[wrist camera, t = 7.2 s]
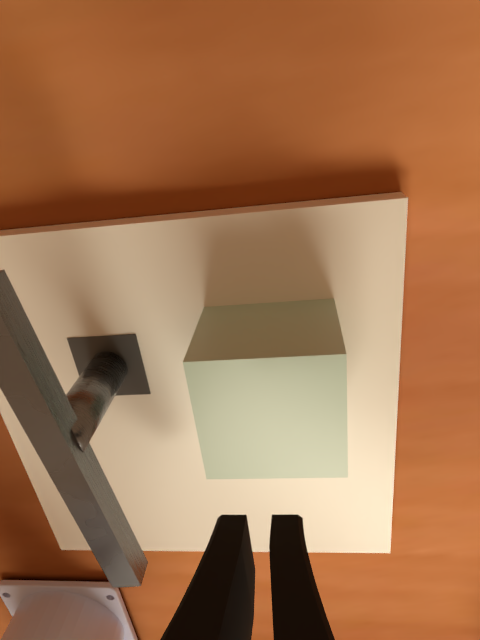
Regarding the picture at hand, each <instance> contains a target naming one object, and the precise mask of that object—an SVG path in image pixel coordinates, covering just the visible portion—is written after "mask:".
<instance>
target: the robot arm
mask: <svg viewBox="0 0 480 640" xmlns="http://www.w3.org/2000/svg"><path fill="white" fill-rule="evenodd" d="M269 550H270V571H271V591H272V611H273V631H274V640H335V639H334V636H333V634H332V631H331V628H330V625H329V622H328V620H327V617H326V614H325V611H324V607H323V604H322V601H321V598H320V595H319V592H318V589H317V586H316V582H315V579H314V576H313V572H312V568H311V564H310V560H309V556H308V552H307V547H306V542H305V536H304V529H303V518H302V517H301V516H299V515H298V514H288V515H272V519H271V530H270V543H269ZM254 593H255V565H254V559H253V553H252V546H251V540H250V534H249V527H248V521H247V515H221V516H219V517H218V518H217V521H216V524H215V527H214V530H213V532H212V535H211V537H210V540H209V543H208V545H207V547H206V550H205V552H204V554H203V557H202V559H201V561H200V563H199V566H198V568H197V570H196V572H195V574H194V576H193V578H192V580H191V582H190V584H189V587H188V589H187V591H186V593H185V595H184V597H183V599H182V601H181V603H180V605H179V607H178V609H177V611H176V612H175V614H174V616H173V618H172V620H171V622H170V623H169V625H168V627H167V629H166V631H165V632H164V634H163V636H162V638H161V640H251V635H252V627H253V618H254ZM0 596H1V598H2V600H3V601H4V603H5V605H6V607H7V608H8V610H9V612H10V614H11V615H12V619H11V621H10V623H9V625H8V627H7V629H6V631H5V633H4V635H3V636H2V638H1V640H138V639H137V636H136V634H135V631H134V628H133V626H132V623H131V620H130V618H129V615H128V612H127V610H126V607H125V604H124V602H123V599H122V597H121V594H120V591H119V589H118V587H116V588H113V587H112V586H111V584H110V582H92V581H40V580H1V581H0Z"/></svg>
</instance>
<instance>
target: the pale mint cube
mask: <svg viewBox="0 0 480 640" xmlns="http://www.w3.org/2000/svg"><path fill="white" fill-rule="evenodd" d="M183 366H184V371H185V376H186V380H187V385H188V390H189V395H190V400H191V405H192V410H193V415H194V420H195V425H196V430H197V435H198V439H199V444H200V449H201V454H202V459H203V464H204V469H205V474H206V479H272V478H348V435H347V354H346V349H345V345H344V340H343V336H342V331H341V327H340V322H339V318H338V314H337V309H336V305H335V300H334V298H333V299H318V300H302V301H287V302H272V303H257V304H242V305H227V306H212V307H204V308H203V311H202V313H201V316H200V318H199V321H198V324H197V326H196V329H195V332H194V334H193V337H192V339H191V342H190V345H189V347H188V350H187V352H186V355H185V358H184V360H183Z"/></svg>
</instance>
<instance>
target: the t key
mask: <svg viewBox="0 0 480 640" xmlns="http://www.w3.org/2000/svg"><path fill="white" fill-rule="evenodd" d="M127 372H128V369H127V365H126V363H125V361H124V360H123V359H122V358H121V357H120V356H119V355H117V354H115V353H112V352H100V353H97V354H96V355H95V356H94V357H93V358H92V359H91V361H90V362H89V364H88V365H87V366H86V368H85V369H84V371H83V372H82V373H81V375H80V376H79V377H78V379H77V380H76V382H75V383H74V384H73V386H72V387H71V388H70V390H69V391H68V393H67V394H65V392H64V390H63V388H62V386H61V384H60V382H59V380H58V378H57V376H56V374H55V372H54V370H53V368H52V366H51V364H50V362H49V360H48V358H47V356H46V353H45V351H44V349H43V347H42V345H41V343H40V341H39V339H38V337H37V335H36V333H35V331H34V329H33V327H32V325H31V323H30V321H29V319H28V317H27V315H26V313H25V311H24V309H23V307H22V305H21V303H20V300H19V298H18V296H17V294H16V292H15V290H14V288H13V286H12V284H11V282H10V280H9V278H8V276H7V274H6V272H5V270H0V389H1V390H2V392H3V394H4V396H5V397H6V399H7V401H8V403H9V405H10V406H11V408H12V410H13V412H14V413H15V415H16V417H17V419H18V421H19V422H20V424H21V426H22V428H23V429H24V431H25V433H26V435H27V436H28V438H29V440H30V442H31V444H32V445H33V447H34V449H35V451H36V452H37V454H38V456H39V458H40V460H41V461H42V463H43V465H44V467H45V468H46V470H47V472H48V474H49V476H50V477H51V479H52V481H53V483H54V484H55V486H56V488H57V490H58V492H59V493H60V495H61V497H62V499H63V500H64V502H65V504H66V506H67V507H68V509H69V511H70V513H71V515H72V516H73V518H74V520H75V522H76V523H77V525H78V527H79V529H80V531H81V532H82V534H83V536H84V538H85V539H86V541H87V543H88V545H89V547H90V548H91V550H92V552H93V554H94V555H95V557H96V559H97V561H98V563H99V564H100V566H101V568H102V570H103V571H104V573H105V575H106V577H107V578H108V580H109V582H110V584H111V586H112V587H113V588H116V587H133V586H141V584H142V580H143V577H144V574H145V570H146V567H147V564H148V561H147V559H146V557H145V555H144V553H143V551H142V549H141V547H140V545H139V543H138V541H137V539H136V537H135V535H134V533H133V531H132V529H131V527H130V525H129V523H128V521H127V519H126V517H125V514H124V512H123V510H122V508H121V506H120V504H119V502H118V500H117V498H116V496H115V494H114V492H113V490H112V488H111V486H110V484H109V482H108V480H107V478H106V476H105V474H104V472H103V470H102V468H101V466H100V464H99V461H98V459H97V457H96V455H95V453H94V451H93V449H92V447H91V445H90V443H89V442H90V440H91V438H92V436H93V434H94V433H95V431H96V429H97V427H98V426H99V424H100V422H101V420H102V418H103V417H104V415H105V413H106V411H107V410H108V408H109V406H110V404H111V402H112V401H113V399H114V397H115V395H116V393H117V392H118V390H119V388H120V386H121V385H122V383H123V381H124V379H125V377H126V376H127Z"/></svg>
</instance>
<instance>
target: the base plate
mask: <svg viewBox="0 0 480 640" xmlns="http://www.w3.org/2000/svg"><path fill="white" fill-rule="evenodd" d="M407 210H408V197H407V196H406V195H404V194H403V193H402V192H394V193H383V194H373V195H362V196H352V197H341V198H331V199H321V200H310V201H300V202H289V203H279V204H268V205H258V206H248V207H237V208H227V209H216V210H206V211H195V212H185V213H175V214H164V215H154V216H143V217H133V218H122V219H112V220H102V221H91V222H81V223H70V224H60V225H49V226H39V227H28V228H18V229H8V230H0V270H5V272H6V274H7V276H8V278H9V280H10V282H11V284H12V286H13V288H14V290H15V292H16V294H17V296H18V298H19V300H20V303H21V305H22V307H23V309H24V311H25V313H26V315H27V317H28V319H29V321H30V323H31V325H32V327H33V329H34V331H35V333H36V335H37V337H38V339H39V341H40V343H41V345H42V347H43V349H44V351H45V353H46V356H47V358H48V360H49V362H50V364H51V366H52V368H53V370H54V372H55V374H56V376H57V378H58V380H59V382H60V384H61V386H62V388H63V390H64V392H65V394H67V393H68V391H69V390H70V388H71V387H72V386H73V384H74V383H75V382H76V380H77V379H78V377H79V376H80V375H81V373H82V372H83V371H84V369H85V368H86V366H87V365H88V364H89V362H90V361H91V359H92V358H93V357H94V356H95V355H96V354H97V353H100V352H112V353H115V354H117V355H119V356H120V357H121V358H122V359H123V360H124V361H125V363H126V365H127V369H128V372H127V376H126V377H125V379H124V381H123V383H122V385H121V386H120V388H119V390H118V392H117V393H116V395H115V397H114V399H113V401H112V402H111V404H110V406H109V408H108V410H107V411H106V413H105V415H104V417H103V418H102V420H101V422H100V424H99V426H98V427H97V429H96V431H95V433H94V434H93V436H92V438H91V440H90V442H89V443H90V445H91V447H92V449H93V451H94V453H95V455H96V457H97V459H98V461H99V464H100V466H101V468H102V470H103V472H104V474H105V476H106V478H107V480H108V482H109V484H110V486H111V488H112V490H113V492H114V494H115V496H116V498H117V500H118V502H119V504H120V506H121V508H122V510H123V512H124V514H125V517H126V519H127V521H128V523H129V525H130V527H131V529H132V531H133V533H134V535H135V537H136V539H137V541H138V543H139V545H140V547H141V549H142V551H205V550H206V547H207V545H208V543H209V540H210V537H211V535H212V532H213V530H214V527H215V524H216V521H217V518H218V517H219V516H221V515H247V521H248V527H249V534H250V540H251V546H252V552H270V550H269V543H270V530H271V519H272V515H288V514H298V515H299V516H301V517H302V518H303V529H304V536H305V542H306V547H307V552H329V553H390V548H391V528H392V508H393V488H394V468H395V448H396V428H397V408H398V389H399V369H400V349H401V329H402V309H403V289H404V269H405V249H406V229H407ZM333 298H334V300H335V305H336V309H337V314H338V318H339V322H340V327H341V331H342V336H343V340H344V345H345V349H346V354H347V435H348V478H272V479H206V474H205V469H204V464H203V459H202V454H201V449H200V444H199V439H198V435H197V430H196V425H195V420H194V415H193V410H192V405H191V400H190V395H189V390H188V385H187V380H186V376H185V371H184V366H183V360H184V358H185V355H186V352H187V350H188V347H189V345H190V342H191V339H192V337H193V334H194V332H195V329H196V326H197V324H198V321H199V318H200V316H201V313H202V311H203V308H204V307H212V306H227V305H242V304H257V303H272V302H287V301H302V300H318V299H333ZM0 413H1V415H2V418H3V420H4V422H5V424H6V427H7V429H8V431H9V433H10V436H11V438H12V440H13V442H14V445H15V447H16V449H17V451H18V454H19V456H20V458H21V460H22V463H23V465H24V467H25V470H26V472H27V474H28V476H29V479H30V481H31V483H32V485H33V488H34V490H35V492H36V494H37V497H38V499H39V501H40V503H41V506H42V508H43V510H44V512H45V515H46V517H47V519H48V521H49V524H50V526H51V528H52V531H53V533H54V535H55V537H56V540H57V542H58V544H59V546H60V549H61V550H91V548H90V547H89V545H88V543H87V541H86V539H85V538H84V536H83V534H82V532H81V531H80V529H79V527H78V525H77V523H76V522H75V520H74V518H73V516H72V515H71V513H70V511H69V509H68V507H67V506H66V504H65V502H64V500H63V499H62V497H61V495H60V493H59V492H58V490H57V488H56V486H55V484H54V483H53V481H52V479H51V477H50V476H49V474H48V472H47V470H46V468H45V467H44V465H43V463H42V461H41V460H40V458H39V456H38V454H37V452H36V451H35V449H34V447H33V445H32V444H31V442H30V440H29V438H28V436H27V435H26V433H25V431H24V429H23V428H22V426H21V424H20V422H19V421H18V419H17V417H16V415H15V413H14V412H13V410H12V408H11V406H10V405H9V403H8V401H7V399H6V397H5V396H4V394H3V392H2V390H1V389H0Z"/></svg>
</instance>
